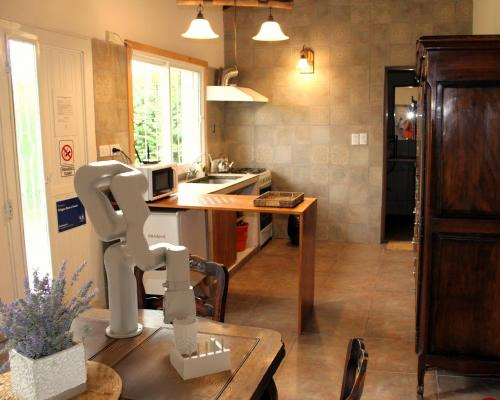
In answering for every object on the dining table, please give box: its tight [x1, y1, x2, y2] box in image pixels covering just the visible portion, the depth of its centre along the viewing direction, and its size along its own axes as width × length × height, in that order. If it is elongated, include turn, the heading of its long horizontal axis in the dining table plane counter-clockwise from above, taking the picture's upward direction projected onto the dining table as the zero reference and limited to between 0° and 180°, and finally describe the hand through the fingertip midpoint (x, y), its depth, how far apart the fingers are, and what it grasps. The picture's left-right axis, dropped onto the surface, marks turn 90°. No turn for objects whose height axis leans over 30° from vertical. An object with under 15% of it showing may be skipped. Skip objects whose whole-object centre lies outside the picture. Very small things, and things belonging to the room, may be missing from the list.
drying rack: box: [169, 337, 232, 381], centre depth 162 cm, size 13×14×10 cm
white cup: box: [172, 316, 199, 355], centre depth 173 cm, size 8×8×10 cm
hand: (180, 338), depth 179 cm, fingers closed
